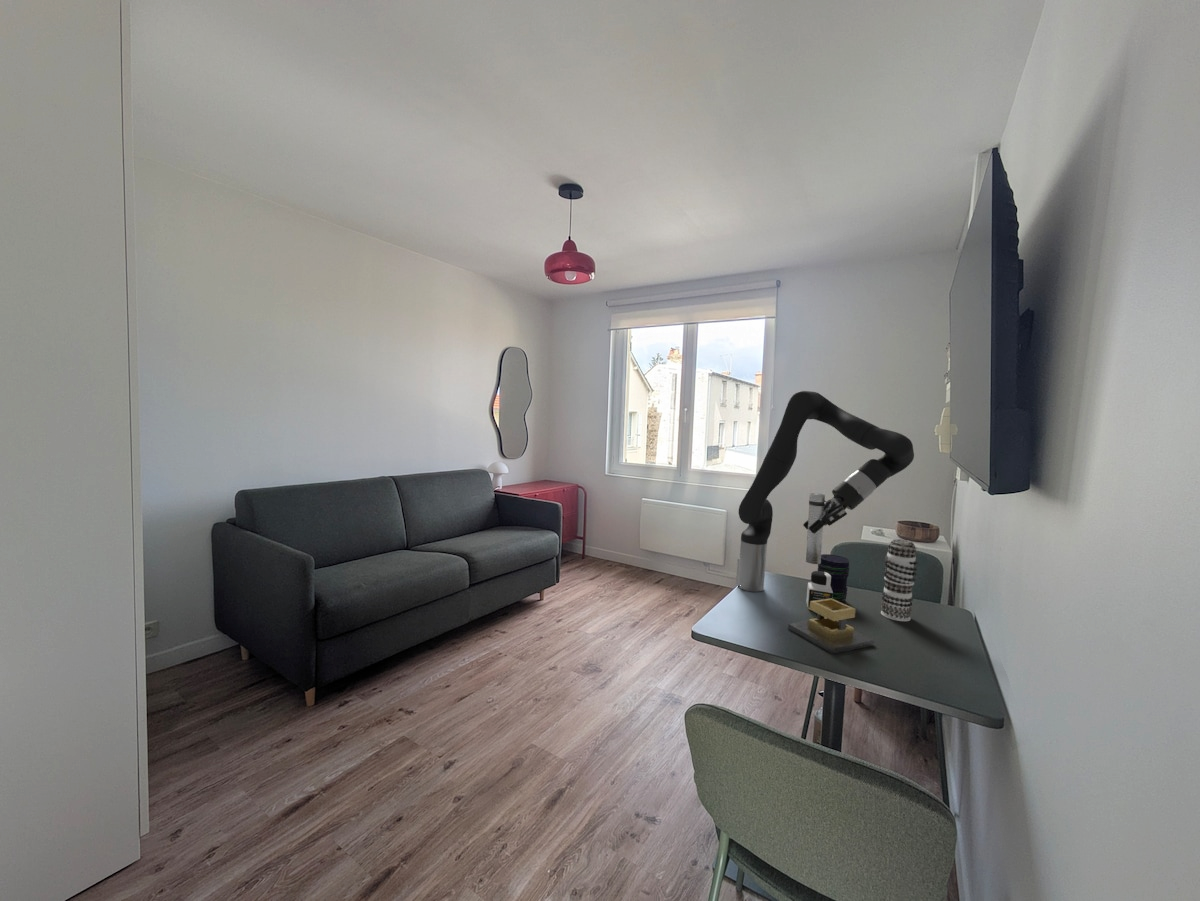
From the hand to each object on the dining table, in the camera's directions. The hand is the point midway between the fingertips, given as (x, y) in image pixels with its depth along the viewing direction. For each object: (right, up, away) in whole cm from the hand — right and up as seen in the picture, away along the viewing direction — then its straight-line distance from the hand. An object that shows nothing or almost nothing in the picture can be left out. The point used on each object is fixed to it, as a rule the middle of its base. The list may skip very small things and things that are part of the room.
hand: (808, 529), depth 144 cm
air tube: (+2, -10, 0) cm, 10 cm away
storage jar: (+20, -30, +29) cm, 46 cm away
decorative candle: (+36, -31, +18) cm, 51 cm away
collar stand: (+6, -31, -1) cm, 32 cm away
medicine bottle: (+13, -30, +22) cm, 39 cm away
